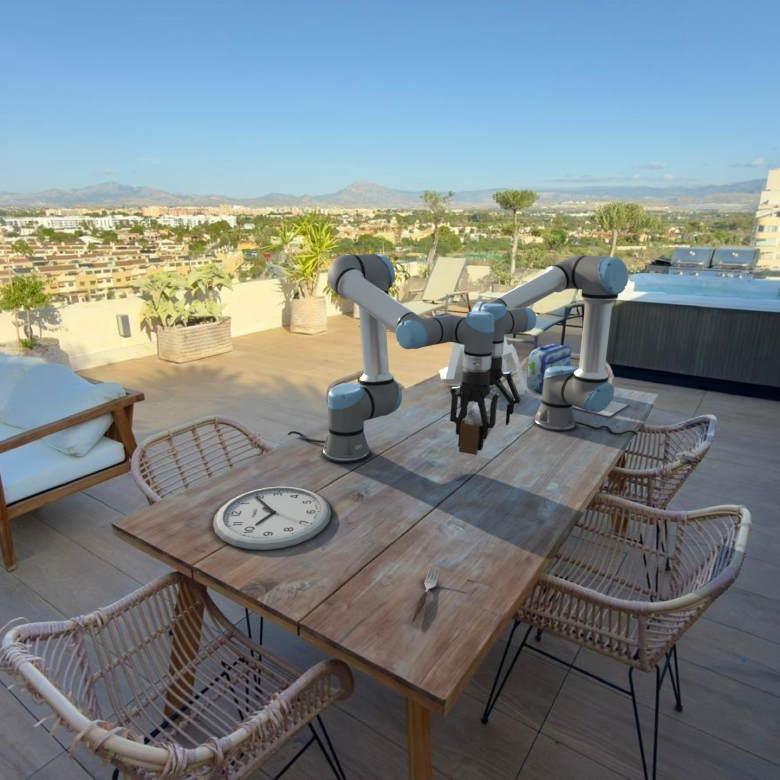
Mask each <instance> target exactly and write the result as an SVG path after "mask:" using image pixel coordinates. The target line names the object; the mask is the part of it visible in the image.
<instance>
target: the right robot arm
mask: <svg viewBox="0 0 780 780" xmlns="http://www.w3.org/2000/svg"><path fill="white" fill-rule="evenodd" d="M628 282H629V270H628V266H627V265H626V263H625V261H623V260H622V259H620V258H618V257H612V256H608V255H605V256H603V255H587V254H586V255H585V254H580V255H575V256H571V257H568V258H566V259H563V260H561V261H559V262H557V263H554V264H552V265H551V266H549V267H547V268H546V269H545V272H544V273H541V274H540V275H538V276H536V277H535V278H532V279H531V280H529V281H527V282H524V283H522V284H521V285H519V286H517V287H515V288H514V289H512V290H510V291H507V292H506V293H504V294H502V295H500V296H498V297H496V298H494V299H493V300H491V301H488V302H487V301H478V302H476V303H475V304H474V305H473V306H472V309H471V312H472V311H481V312H489V313H491V314H493V315H494V329H495V331H494V336H493V344H492V359H491V368H490V369H489V371H490V382H489V387H490V386H491V387H493V386H495V387H496V388H497V389H498V391H500V393H501V394H502V396H503V397H504V398H505V399H506V401H507V404H506V412H505V413H506V414H505V425H506V426H509V424H510V419H511V415H513V414H514V412H515V405H519V404H520V403H521V400H522V398H521V396H520V394H519V391H518V389H517V387H516V384H515V382H514V380H513V372H512V371H510V372H508V373H504V371H503V367H502V359H503V357H502V356H501V355H503V346H504V335H505V336H506V335H513V334H521V333H522V334H524V333H527V332H531V331H532V330H534V328H535V327H536V324H537V315H536V313H535V310H534V309H532V308H530V306H532V305H533V304H536V303H537V302H539V301H541V300H543V299H545V298H547V297H548V296H550V295H553V294H555V293H561V292H563V291H566V290H580V291H581V295H580V296H581V298H582V299H583V301H584V302H585V304H584V313H583V314H584V315H583V324H582V332H581V333H582V335H581V342H580V343H581V344H580V351H579V352H580V354H579V362H578V363H579V364H578V368H577V367H574V366H570V367H569V366H555V367H549V368H547V369H546V370H545V375H544V378H543V379H544V380H543V391H542V393H541V402H540V405H539V407H538V410H537V411H536V413H535V417H534V424H535V425H536V426H537V427H539V428H542V429H544V430H549V431H556V432H567V431H572V430H574V429H575V428H576V425H580V426H584V427H587V428H590V429H593V430H601V429H603V428H604V429H607V430H608V432H609V433H610V434H612V435H615V436H616V435H617V436H620V435H625V434H628V433H629V434H630V433H632V434H634V435H636V436H638V435H639V433H637V432H636V431H635V430H632V429H628V430H625V431H622V432H621V431H620V432H615V431H613V430H612V429H611V428H610V427H609V426H608V425H600V426H593V425H591V424H587V423H584V422H581V421H576V418H575V417H576V416H575V413H574V407H579V408H581V409H584V410H586V411H585V412H588V411H591V412H590V413H592V412H595V413H594V414H596V413H597V412H601V411H603V410H604V409H605V408H606V407H607V406H608V405H609V404H610V402H611V401H613V398H614V395H615V387H614V385H613V384H612V383H611V382H609V374H608V372H607V371H606V370H605V369H606V362H607V361H606V360H607V353H608V343H609V335H610V326H611V317H612V309H613V304H614V302H615V301H617V300H618V299H619V294H622V293H623V292H624V291H625V289H626V287H627V286H628ZM502 378H504V380H505V381H506V383H508V384H507V386H508V385H509V387H510V390H511V392H512V394H511V392H510V390H509V389H507V387H506V386H505V385H504V384H503V381H502V380H501V379H502ZM461 384H462V383H459V386H460V385H461ZM509 387H508V388H509ZM458 398H460V401H459V402H460V403H459V406H460V408H461V407H462V404H463V401H464V398H465V397H464V395H463V394H462V392H461V391H460V393H459V394H458ZM468 406H469V405H468ZM468 406H467V409H466V412H465V414H464V417H463V419H464V418H465V417H466V415H467V414H468ZM573 406H574V407H573ZM584 410H583V411H584Z"/></svg>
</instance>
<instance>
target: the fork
mask: <svg viewBox="0 0 780 780" xmlns="http://www.w3.org/2000/svg"><path fill="white" fill-rule="evenodd" d="M437 569H438V567H436V568H435V571H434V566H432V570H431V565H429V568H428V572H427V574H426V577H425V580H424V586H425V591H424V592H423V594H422V595H421V597H420V598H419V600H418V602H417V606H416V608H415V612H414V614H413V618H412V623H413V622H414V621H415V620H416V618H417V616H418V615H419V613H420V611H421V610H422V609H423V607H424V605H425V603H426V598H427V596H428V591H429V590H430V589H433V588H435V587H436V586H438V585H437V584H438V580H439V576H440V570H441V568H440V567H439V569H438V572H437ZM430 571H431V573H430ZM433 573H434V574H433ZM436 573H437V575H436Z"/></svg>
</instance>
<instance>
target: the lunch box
mask: <svg viewBox="0 0 780 780" xmlns="http://www.w3.org/2000/svg"><path fill="white" fill-rule="evenodd" d="M571 350H572V349H571V347H570V346H569V345H561V344H556V343H551V344H547V345H543V346H540V347H537V348H534V349H533V350H532V351H531V352H530V353H529V356H528V361H527V362H528V363H527V371H526V384H527V387H528V390H531V391H537V392H540V393H541V394H542V391H543V380H544V379H543V378H544V375H545V370H546V369H547V368H549V367H555V366H569V367H571V356H572V351H571Z"/></svg>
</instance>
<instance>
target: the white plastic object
mask: <svg viewBox="0 0 780 780" xmlns="http://www.w3.org/2000/svg"><path fill="white" fill-rule="evenodd" d="M501 356H502V357H503V359H502V371H503V373H508V372H511V371H510V369H509V365H508V361H510V360H513V363H514V366H515V369H516V372H517V376H518V380H519V382H520V385H521V389H522V391H523V393H524V395H525V396H526V397H528V396H531V395H530V389H528V387H527V380H526V378H525V375H524V371H523V369H522V368H523V367H522V366H521V362H520V359H519V355H518V352H517V349H516V347H515V346H514V345H513V343H511V344H508V341H507V337H506V335H504V346H503V355H501ZM463 359H464V345H462V344H458V343H454V342H453V344H452V349H451V353H450V357H449V362H448V366H446V367H444V368H442V369H440V370H439V371H438V372H439V376H440V381H442V383H443V384H444V385H445V386H449V385H458V384H459V385H460V384H461V383H462V373H463V369H464V367H463ZM506 383H507V382H506ZM507 386H508V391H509V393H510V395H512V392H511V390H510V387H509V385H508V383H507Z"/></svg>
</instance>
